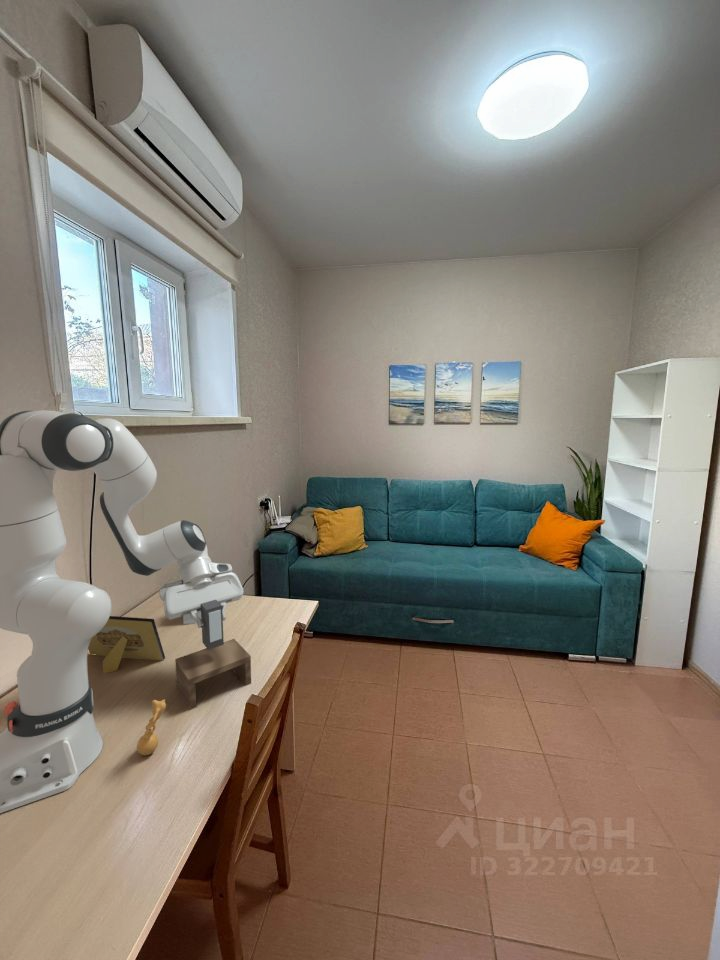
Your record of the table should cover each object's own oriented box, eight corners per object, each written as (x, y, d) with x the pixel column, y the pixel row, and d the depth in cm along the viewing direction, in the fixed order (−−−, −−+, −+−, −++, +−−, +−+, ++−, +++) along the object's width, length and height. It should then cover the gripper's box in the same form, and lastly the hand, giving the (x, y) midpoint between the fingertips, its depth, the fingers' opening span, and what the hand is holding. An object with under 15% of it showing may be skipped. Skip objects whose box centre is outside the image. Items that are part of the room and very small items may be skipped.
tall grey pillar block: (208, 650, 101) (206, 610, 99) (202, 642, 105) (200, 603, 103) (223, 644, 104) (222, 605, 102) (217, 637, 107) (215, 599, 106)
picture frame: (165, 657, 117) (159, 613, 114) (146, 679, 109) (139, 632, 105) (93, 652, 120) (85, 608, 116) (69, 673, 111) (60, 627, 107)
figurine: (146, 737, 88) (142, 688, 86) (174, 735, 88) (171, 686, 87) (129, 769, 79) (125, 716, 78) (161, 767, 80) (157, 713, 79)
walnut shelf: (189, 709, 96) (188, 679, 95) (176, 686, 105) (175, 659, 104) (251, 683, 107) (250, 655, 106) (234, 664, 115) (234, 638, 114)
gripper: (159, 580, 100) (172, 632, 94) (236, 563, 114) (252, 607, 108) (155, 591, 104) (168, 641, 98) (230, 573, 118) (245, 616, 112)
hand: (212, 623), depth 103 cm, fingers closed on tall grey pillar block, 4 cm apart
